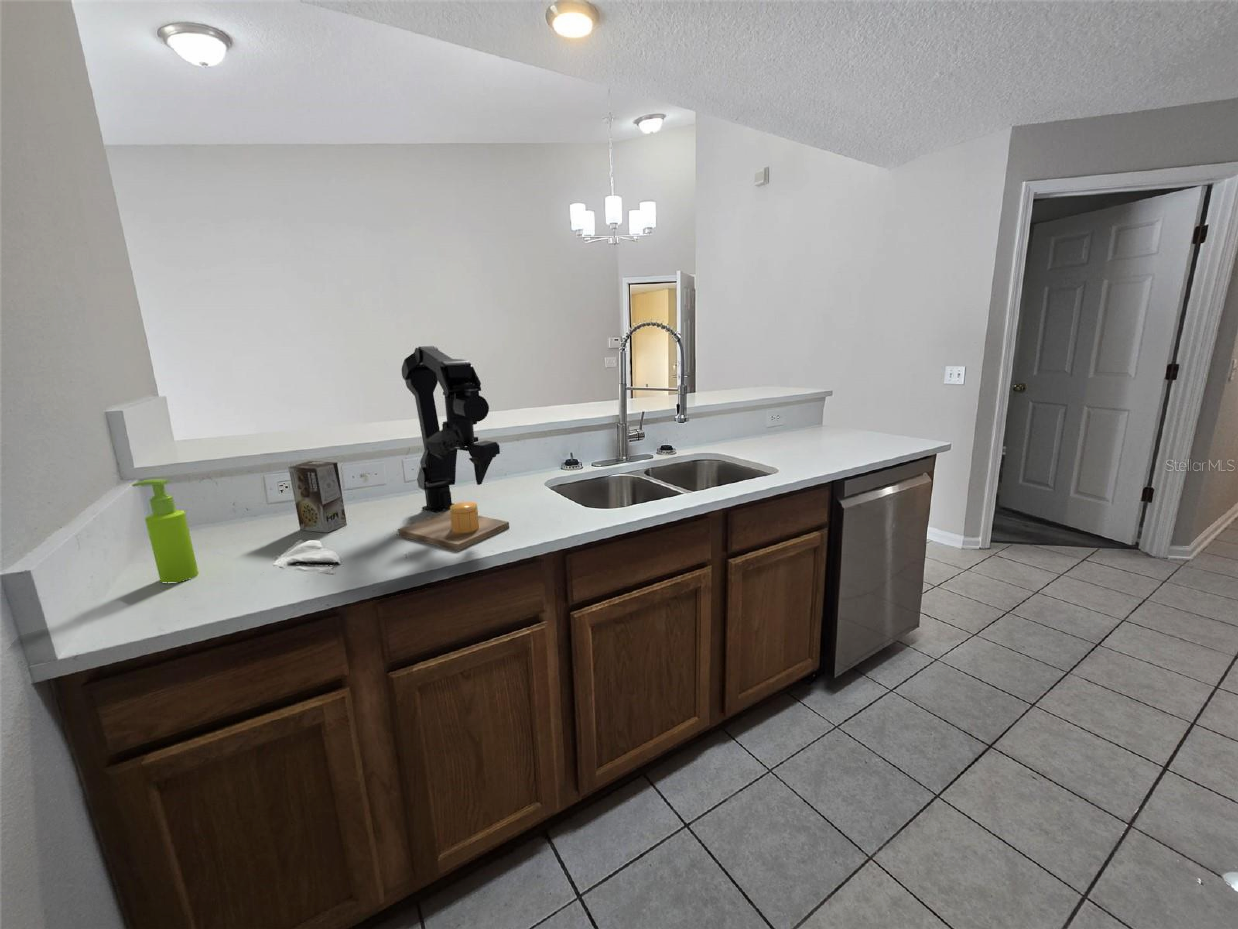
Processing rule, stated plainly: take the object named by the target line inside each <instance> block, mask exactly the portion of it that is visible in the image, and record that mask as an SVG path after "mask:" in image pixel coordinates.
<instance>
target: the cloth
mask: <svg viewBox="0 0 1238 929" xmlns="http://www.w3.org/2000/svg"><path fill="white" fill-rule="evenodd" d="M274 562H275V563H274ZM274 562H273V564H272V566H273V567H279V568H281V569H285V568H286V569H288V570H294V571H303V572H310V573H311V572H313V573H314V572H316V573H320V574H328V575H329V574H330V575H336V573H334V572H333V570H332V569H333V565H332V566H330V565H331V564H327V565H328V566H325V565H326V564H324V563H332V564H336V563H338V564H339V565H342V563H340V562H341V561H340V558H339V555H337V552H336V551H332V550H330V549H328V548H326V547H323V545H322V543H321V541H320V540H318V539H317V540H306V541H305V540H303V539H299V540H298V541H297V542H295V543H294V544H293V545H292V546H290V547H289V548H287V550H286V551H285V552H284V553H282V554H281V555H279V558H278V559H277V560H275V561H274ZM308 563H310V564H308ZM316 563H317V565H318V566H315V565H316ZM318 563H319V564H318ZM322 563H323V565H324V566H319V565H320V564H322Z"/></svg>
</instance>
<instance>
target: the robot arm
mask: <svg viewBox="0 0 1238 929" xmlns="http://www.w3.org/2000/svg"><path fill="white" fill-rule="evenodd" d="M402 363H403V364H402V365H401V366H402V367H401V376H402V379H403V380H404V382H405V386H406V388H407V389H408V390H409V391H410V393H411V394H412V395H413V397H414V400H415V405H416V409H417V416H418V421H419V427H420V432H421V438H422V443H423V444H422V445H423V449H424V450H423V451H424V452H423V454H422V455H421V458H420V461H419V464H420V468H419V470H418V475H417V477H416V478H417V479H416V480H417V481H416V482H417V487H418V488H419V489H421V490H423V491H424V494H425V503H426V505H424V506H422V507H421V509H422V510H425V511H428V512H429V511H430V512H435V513H439V512H442V511H445V510H448V509H450V506H451V505H453V504H455V503H454V502H453V501H452V494H451V489H450V488H451V487H450V486H453V485H454V486H455V485H456V478H457V477H456V472H457V457H458V451H465V452H468V454H469V456H470V458H468V459H469V461H470V462H472V464H473V468H474V475H475V481H476V485H477V486H480V485H482V484H483V482H484V479H485V476H486V473H487V471H488V469H489V467H490V464H491V463H492V462H493V459H494V458H496V457H497V455H500V454H501V450H500V448H501V447H500V444H499V443H498V442H497V441H490V440H483V441H479V437H478V436H475V431H474V430H475V429H474V425H477V424H478V422H481V421H483V420H485V419H486V418H487V416H488V414H489V411H490V406H489V403H488V401H487V399H486V398H484V397H483V396H481V395H480V392H481V391H482V387H481V385H482V383H481V380H480V377H478V373H476V371H475V368H474V366H473V365H472V363H471V362H470V361H469V360H467V359H461V358H460V359H459V358H457V359H456V358H452V357H450V356H448V355H447V354H445V353H444V352H442V351H441V350H439V348H438V347H437V346H434V345H429V346H424V345H423V346H418V347H415V349H414V352H412V353H411V354H410V355H409V356H407V357H406V358H404V360H403V362H402ZM438 383H439V385H440V387H441V390H442V391H443V392H442V395H443V396H444V404H445V405H444V406H445V415H446V421H443V422H442V425H441V427H442V428H441V430H440V424H439V418H438V413H437V406H436V402H435V395H434V392H435V389H436V387H437V386H438Z"/></svg>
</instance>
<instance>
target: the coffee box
mask: <svg viewBox="0 0 1238 929" xmlns="http://www.w3.org/2000/svg"><path fill="white" fill-rule="evenodd" d="M338 466H339V465H338V462H334V461H314V460H309V461H305V462H301V463H298V464H296V465H292V466H288V471H289V478H290V483H291V488H292V493H293V498H294V502H295V503H294V504H295V508H296V514H297V520H298V524H299V529H300V531H309V532H319V533H329V532H332V531H334V530H337V529H340V528H342V527H345V526H347V524H348V523H347V519H346V511H345V504H344V498H343V492H342V485H341V484H342V483H341V480H340V478H341V477H340V472H339V467H338Z"/></svg>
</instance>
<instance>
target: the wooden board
mask: <svg viewBox="0 0 1238 929" xmlns="http://www.w3.org/2000/svg"><path fill="white" fill-rule="evenodd" d="M478 520H479V529H477V530H475V531H473V532H467V533H456V532H452V525H451V515H450V509H449V510H447V511H444V512H441V513H439V514H436V515H432V516H431V517H427V518H425V519H422V520H420V521H417V522H415V523H412V524H409V525H406V526H403V527H399V528H398V529H397V534H398V536H399V537H403V538H407V537H408V538H407V539H411V540H415V541H418V542H422V543H427V544H430V545H434V544H435V545H434V546H438V545H439V546H438V547H441V548H442V547H443V548H446V549H449V548H450V550H454V551H457V552H459V551H461V550H464V549H466V548H469V547H470V545H471V546H472V544H473V545H475V544H478V543H479V542H481V541H483V540H486V539H487V537H488V538H489V537H490V538H491V537H492V536H494V534H495V535H497V534H499V533H501V532H504V531H505V530H507V528H508V529H510V521H506V520H501V519H496V518H493V517H492V518H491V517H488V516H482V515H478ZM500 531H501V532H500Z"/></svg>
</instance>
